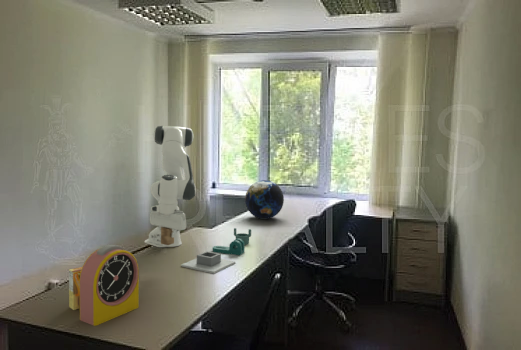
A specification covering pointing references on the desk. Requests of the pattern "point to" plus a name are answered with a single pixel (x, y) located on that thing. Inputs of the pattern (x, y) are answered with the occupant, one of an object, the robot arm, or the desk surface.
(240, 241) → the bracket
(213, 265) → the well
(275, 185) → the globe
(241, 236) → the bracket
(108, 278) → the alarm clock
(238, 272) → the desk surface
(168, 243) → the walnut block
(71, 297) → the candy box
